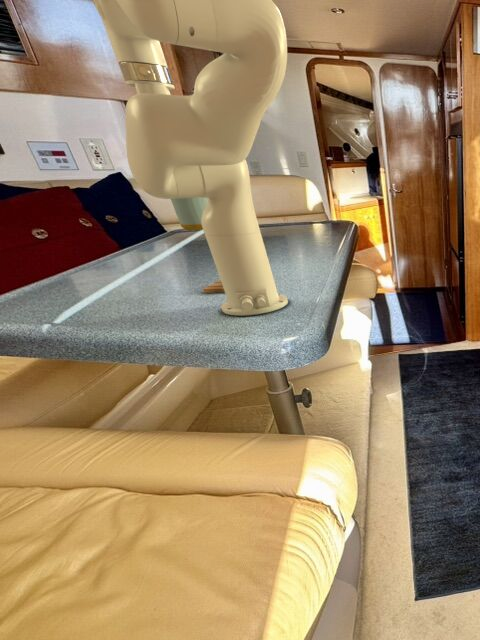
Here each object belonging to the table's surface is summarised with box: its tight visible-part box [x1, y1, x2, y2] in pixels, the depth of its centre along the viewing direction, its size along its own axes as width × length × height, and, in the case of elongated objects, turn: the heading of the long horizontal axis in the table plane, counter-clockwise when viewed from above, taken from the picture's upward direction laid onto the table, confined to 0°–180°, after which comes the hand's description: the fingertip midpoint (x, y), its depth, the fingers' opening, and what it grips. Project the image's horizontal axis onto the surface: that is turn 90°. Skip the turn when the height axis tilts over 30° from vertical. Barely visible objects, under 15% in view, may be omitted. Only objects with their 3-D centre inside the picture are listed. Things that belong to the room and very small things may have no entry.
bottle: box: [170, 197, 209, 231], centre depth 88 cm, size 7×7×15 cm
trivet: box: [203, 280, 225, 294], centre depth 99 cm, size 8×8×1 cm
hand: (183, 178), depth 86 cm, fingers closed on bottle, 7 cm apart
